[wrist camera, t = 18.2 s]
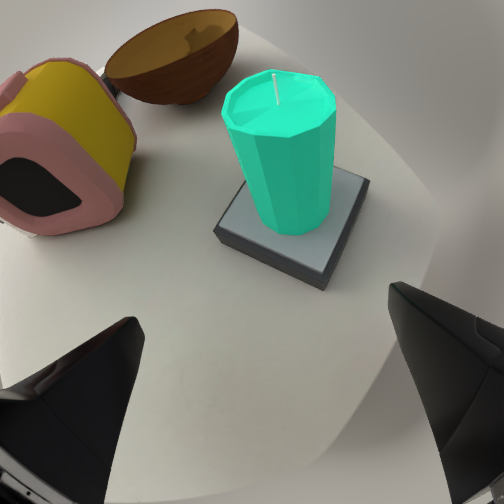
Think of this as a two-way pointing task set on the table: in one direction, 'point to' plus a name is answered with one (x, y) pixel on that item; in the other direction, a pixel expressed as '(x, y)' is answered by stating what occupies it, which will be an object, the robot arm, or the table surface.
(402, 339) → the robot arm
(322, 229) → the scale
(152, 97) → the bowl
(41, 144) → the alarm clock
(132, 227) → the table surface
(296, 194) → the candle
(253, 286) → the table surface
